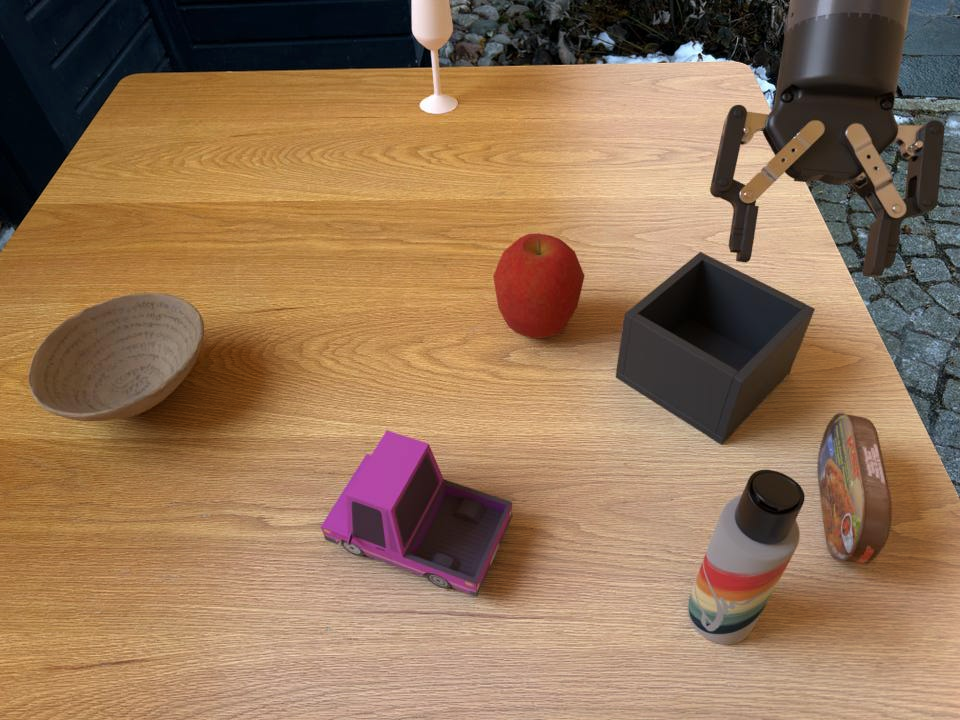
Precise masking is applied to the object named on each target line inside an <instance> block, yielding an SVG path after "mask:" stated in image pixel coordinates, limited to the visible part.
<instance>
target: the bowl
mask: <svg viewBox="0 0 960 720" xmlns="http://www.w3.org/2000/svg"><path fill="white" fill-rule="evenodd" d="M204 337H205V323H204V319H203V316H202V315H201V313H200V311H199V310H198V309H197V307H196V306H195V305H193V304H192V303H190V302H189V301H187V300H185V299H184V298H182V297H179V296H177V295H173V294H170V293H161V292H160V293H159V292H140V293H133V294H126V295H121V296H118V297H114V298H111V299H107V300H105V301H103V302H100V303H97V304H94V305H92V306H89V307H87V308H85V309H82V310H80V311H79V312H77V313H75V314H74V315H72V316H69V317H68V318H67V319H65V320H64V321H62V322H61V323H60V324H59V325H58V326H57V327H55V328H54V329H53V330H52V331H51V332H50V333H49V334H47V335H46V336H45V337H44V339H43V340H42V341H41V342H40V344H39V346H38V347H37V348H36V350H35V352H34V353H33V356H32V358H31V361H30V365H29V369H28V375H27V379H28V387H29V391H30V393H31V395H32V397H33V398H34V400H35V401H36V402H37V403H38V405H39V406H40V407H42V408H43V410H45V411H47V412H49V413H51V414H53V415H56V416H59V417H60V418H64V419H69V420H72V421H73V420H74V421H80V422H104V421H106V422H107V421H112V420H119V419H120V420H121V419H122V420H123V419H128V418H131V417H134V416H137V415H140V414H143V413H144V412H146V411H149V410H151V409H152V408H154V407H155V406H157V405H159V404H161V403H162V402H163V401H164V400H166V398H168V397H169V396H170V395H172V393H173V392H174V391H175V390H176V389H177V388H178V387H179V386H180V385H181V383H182V382H183V381H184V380H185V379H186V377H187V376H188V375H189V374H190V371H192V369H193V368H194V366H195V364H196V362H197V360H198V358H199V355H200V352H201V350H202V346H203V342H204Z"/></svg>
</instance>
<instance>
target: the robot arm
mask: <svg viewBox="0 0 960 720" xmlns="http://www.w3.org/2000/svg"><path fill="white" fill-rule="evenodd" d="M910 8H911V0H789V4H788V11H787V15H786V18H785V20H784V24H783V26H784V27H783V31H784V36H783V44H782V50H781V56H780V63H779V69H778V76H777V83H776V90H775V97H774V102H773V106H772V109H771V111H770V112H769V114H767V113H759V112H752V111H748V110H747V108H746V106H744V105H742V104H735V105H732V106H731V108H730V109H729V111H728V113H727V115H726V117H725V119H724V123H723V125H722V131H721V134H720V140H719V144H718V148H717V149H718V150H717V154H716V159H715V163H714V168H713V173H712V178H711V182H710V187H709V192H710V195H711V196H712V197H713V198H717V199H719V198H720V199H722V200H724V201H726V202H728V204H729V203H730V205H731V206H732V209H733V212H732V219H731V225H730V226H731V227H730V233H729V239H728V248H729V252H730V253H731V254H732V253H733V254H736V256H735V261H736V262H737V263H738V262H739V263H748V262H750V261H751V258H752V255H753V254H752V253H753V248H754V241H755V236H756V235H755V234H756V229H757V228H756V227H757V221H758V215H759V208H760V206H759V205H757V204H756V203H757V200H758V199H759V198H760V197H761V196H762V195H763V194H764V193H765V192H766V191H768V189H769V188H770V187H771V186H773V184H775V182H776V181H777V180H778V179H779V178H780V177H781V176H782V175H783V174H786V175H787V176H788V177H789V178H791V179H793V182H800V183H809V182H814V181H819V182H820V183H824V184H826V185H829V186H830V185H831V186H842V185H843V184H846V183H850V184H851V186H852V187H853V189H854V191H855V193H856V194H857V195H858V197H859V198H860V199H863V200H864V203H865V204H866V205H867V207H868V209H869V210H870V212H871V214H872V215H873V217H874V219H875V220H874V222H871V223H870V224H869V228H868V229H869V230H868V235H867V241H866V247H865V253H864V261H863V265H862V266H863V267H862V276H863V277H867V278H878V277H881V276H883V274H884V272H885V270H888V269H891V268H892V267H893V265H894V263H895V261H896V256H897V251H898V245H899V237H900V233H901V225H902V223H903V222H904V220H907V219H909V218H917V217H919V216H921V215H924V214H927V213H929V212H932V211H933V210H935V209H936V208H937V206H938V203H939V202H938V201H939V191H940V179H941V170H942V159H943V150H944V149H943V148H944V140H945V139H944V138H945V125H944V123H943V122H942V121H940V120H933V119H932V120H930V121H928V122H927V123H926V124H898V122H897V120H896V117H895V113H894V108H895V102H896V97H897V90H898V84H899V77H900V71H901V64H902V59H903V52H904V46H905V39H906V33H907V27H908V20H909V15H910V14H909V13H910ZM758 132H762V134H763V136H764V138H765V140H766V142H767V144H768V146H769V148H771V151H772V153H773V154H774V156H773V157H772V158H771V159H770V160H769V161H768V162H767V163H766V164H765V165H764V166H763V167H762V169H761V170H759V171H758V172H757V173H756V174H755V175H754V176H753V177H752V178H751V179H750V180H749V181H748V182H747V183H746V184H745V183H743V182H740V181H738V180H736V179H734V178H735V172H736V169H737V163H738V159H739V154H740V149H741V146H745V145H748V144H749V143H750V142H751V141H752V139H753V137H754V135H755V134H756V133H758ZM893 143H895V144H896V145H897V146H898V147H899V149H900V155H901V156H902V157H903V158H904V159H906V160H908V161H907V169H906V170H907V171H906V182H905V193H904V198H903V197H902V196H901V195H900V193H899V191H898V190H897V188H896V186H895V184H894V183H893V182H894V181H893V179H894V178H893V175H892V173H891V172H890V170H889V168H888V167H887V165H886V164H885V162H884V160H883V159H882V157H881V155H882V154H883V153H884V152H885V151H886V150H887V149H888V148H889V147H890V146H891V145H892V144H893Z"/></svg>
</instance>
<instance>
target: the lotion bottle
mask: <svg viewBox="0 0 960 720" xmlns="http://www.w3.org/2000/svg"><path fill="white" fill-rule="evenodd" d="M805 497H806V496H805V492H804V489H803V487H802V486H801V485H800V484H799V482H797V481H796V480H795V479H793V478H792V477H791V476H789V475H787V474H785V473H783V472H780V471H778V470H774V469H758V470H756V471H755V472H753V473H752V474H751V475H750V476H749V478H748V479H747V482H746V484H745V487H744V488H743V491H742V493H741V494H739V495H737V496H735V497H733V498H731V499H730V500H729V501H728V502H726V504H725V505H724V506H723V508H722V510H721V511H720V514H719V517H718V519H717V522H716V524H715V526H714V529H713V532H712V535H711V537H710V540H709V543H708V545H707V549H706V551H705V554H704V556H703V558H702V562H701V564H700V567H699V570H698V572H697V575H696V579H695V581H694V583H693V586H692V589H691V592H690V595H689V598H688V603H687V612H688V613H687V614H688V617H689V620H690V622H691V625H692V626H693V627H694V629H695V630H696V631H697V632H698V633H699V634H700V635H701V636H702V637H704V638H705V639H707V640H708V641H710V642H713V643H716V644H720V645H735V644H737V643H740V642H741V641H744V639H746V638H747V637H748V636H749V635H750V634H751V632H752V630H753V629H754V628H755V626H756V624H757V622H758V620H759V619H760V616H761V615H762V613H763V612H764V610H765V608H766V605H767V604H768V602H769V600H770V599H771V596H772V595H773V593H774V591H775V589H776V587H777V585H778V584H779V582H780V580H781V578H782V576H783V575H784V573H785V571H786V569H787V567H788V566H789V564H790V562H791V560H792V558H793V556H794V554H795V552H796V551H797V548H798V546H799V543H800V537H801V536H800V535H801V534H800V533H801V532H800V527H799V524H798V520H797V519H798V516H799V514H800V511H801V509H802V507H803V506H804V503H805V499H806V498H805Z"/></svg>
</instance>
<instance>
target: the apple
mask: <svg viewBox="0 0 960 720" xmlns="http://www.w3.org/2000/svg"><path fill="white" fill-rule="evenodd" d="M492 278H493V284H494V289H495V295H496V302H497V308H498V310H499V312H500V314H501V316H502V317H503V320H504V321H505V323H506V326H507V327H508V328H510V329H511V330H512V331H513V332H514V333H516V334H519V335H521V336H524V337H527V338H528V337H529V338H535V339H543V338H544V339H545V338H551V337H552V336H556V335H558V334H561V332H562V331H563V330H564V329H565V328H567V326H568V324H569V322H570V321H571V319H572V317H573V316H574V314H575V312H576V310H577V309H578V306H579V302H580V297H581V293H582V289H583V284H584V280H585V273H584V270H583V268H582V266H581V264H580V261H579V259H578V256H577V253H576V251H575V250H574V249H572V248H571V247H570V246H569V244H567V243H566V242H565V241H564V240H562V239H561V238H560V237H557V236H552V235H550V234H544V233H540V232H537V233H527V234H524V235H523V236H521V237H519V238H517V239H516V240H515V241H514V242H513V243H512V244H511V245H509V246H508V247H507V248H506V249H505V250H503V251H502V254H501V256H500V257H499V261H498V262H497V266H496V268H495V271H494V273H493V276H492Z"/></svg>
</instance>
